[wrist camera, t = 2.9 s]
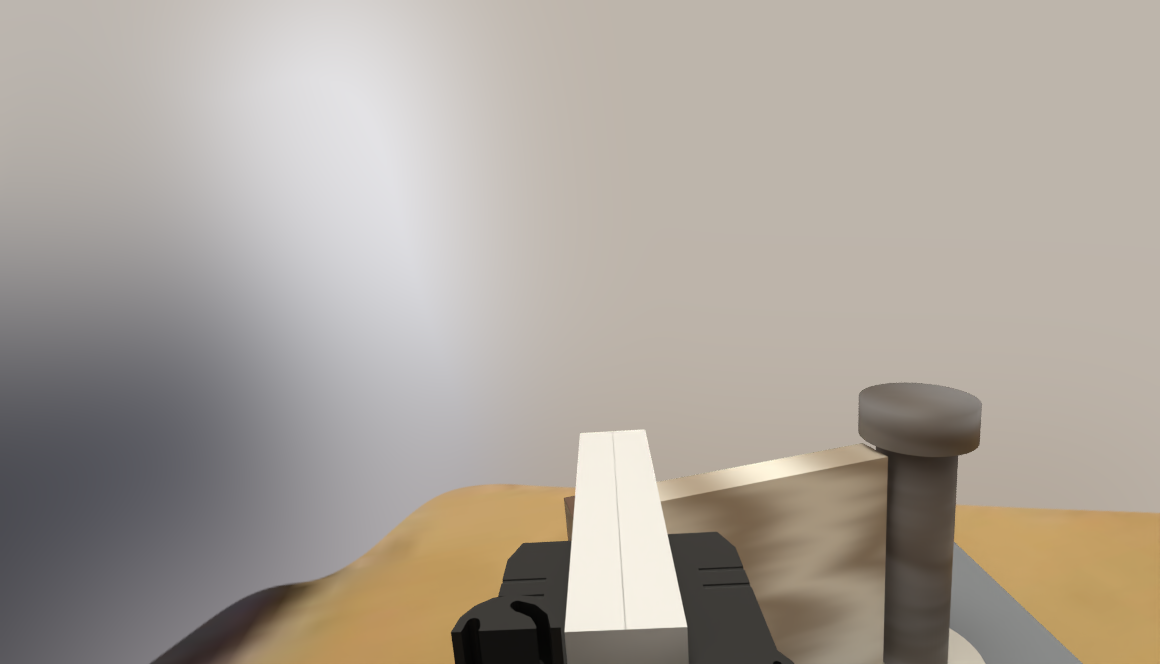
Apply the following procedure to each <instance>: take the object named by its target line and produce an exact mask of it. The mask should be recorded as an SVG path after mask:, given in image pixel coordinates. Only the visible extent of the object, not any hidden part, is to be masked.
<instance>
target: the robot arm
mask: <svg viewBox="0 0 1160 664" xmlns="http://www.w3.org/2000/svg"><path fill="white" fill-rule="evenodd" d="M451 636H452V643H453V651H454V658H455V664H794V662H793V661H792V660H790V659H789V658H787V657H786V656H785V655H783V654H782V653H781V652H779V651H778V650H777V648H776V645H775V643H774V641H773V638H772V636H771V633H770V631H769V628H768V626H767V623H766V621H765V618H764V616H763V614H762V611H761V609H760V606H759V604H758V601H757V599H756V596H755V594H754V591H753V589H752V587H750V582H749V579H748V577H747V574H746V572H745V570H744V569H743V564H742V562H741V560H740V557H739V555H738V552H737V550H736V547H735V546H733V545H732V544H731V543H730V542H729V541H728V540H726V539H725V538H724V537H723V536H722V535H721V534H719V533H718V532H700V533H679V534H667V530H666V525H665V520H664V516H663V511H662V506H661V502H660V497H659V492H658V488H657V483H656V479H655V474H654V469H653V465H652V460H651V455H650V451H649V446H648V441H647V437H646V432H645V430H629V431H610V432H592V433H580V443H579V455H578V467H577V480H576V493H575V505H574V518H573V531H572V541H558V542H538V543H523V544H522V545H521V546H520V547H519V548H518V549H517V550H516V552H515V553H514V554H513V555H512V556H511V557H510V558H509V559H508V561H507V565H506V569H505V572H504V576H503V584H501V588H500V592H499V596H498V597H496V598H492V599H490V600H487V601H485V602H483V603H480V604H478V605H476V606H474V607H473V608H472V609H470V610H469V611H468V612H467V613H465V614H464V615H463V616H462V617H460V619H459V620H458V622H457V623H456V625H455V627H454V628H453V630H452V632H451Z"/></svg>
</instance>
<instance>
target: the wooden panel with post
mask: <svg viewBox="0 0 1160 664" xmlns="http://www.w3.org/2000/svg"><path fill="white" fill-rule="evenodd" d="M981 408H982V403H981V401H980V400H979V399H978V398H977V397H975V396H973V395H971V394H969V393H967V392H964V391H961V390H957V389H954V388H949V387H944V386H939V385H932V384H922V383H888V384H881V385H875V386H871V387H868V388H866V389H864V390H862V391H861V392H860V394H859V423H858V431H859V434H860V436H861V437H862V438H863V439H864V440H865V441H867V442H869V443H870V444H872V445H875V446H876V450H874V449H873V448H871V447H869V446H867V445H865V444H863V443H861V444H855V445H851V446H845V447H840V448H834V449H829V450H824V451H818V452H813V453H808V454H803V455H798V456H792V457H787V458H782V459H776V460H771V461H766V462H761V463H755V464H750V465H745V466H739V467H734V468H730V469H724V470H718V471H714V472H708V473H703V474H697V475H692V476H687V477H681V478H676V479H671V480H666V481H660V482H656V483H657V488H658V492H659V497H660V502H661V506H662V511H663V516H664V520H665V525H666V530H667V534H679V533H700V532H718V533H719V534H721V535H722V536H723V537H724V538H725V539H726V540H728V541H729V542H730V543H731V544H732V545H733V546H735V547H736V550H737V552H738V555H739V557H740V560H741V562H742V564H743V569H744V570H745V572H746V574H747V577H748V579H749V582H750V587H752V589H753V591H754V594H755V596H756V599H757V601H758V604H759V606H760V609H761V611H762V614H763V616H764V618H765V621H766V623H767V626H768V628H769V631H770V633H771V636H772V638H773V641H774V643H775V645H776V648H777V650H778V651H779V652H781V653H782V654H783V655H785V656H786V657H787V658H789V659H790V660H792V661H793V662H794V664H883V662H884V663H885V664H948V647H949V627H950V607H951V587H952V567H953V547H954V527H955V507H956V487H957V486H956V485H957V467H958V455H962V454H967V453H969V452H972V451H974V450H975V449H976V448H978V446H979V442H980V426H981V410H982V409H981ZM564 502H565V512H566V523H567V533H568V541H572V531H573V518H574V505H575V496H571V497H566V498H564Z"/></svg>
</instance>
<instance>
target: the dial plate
mask: <svg viewBox="0 0 1160 664" xmlns="http://www.w3.org/2000/svg"><path fill="white" fill-rule="evenodd" d="M883 664H885V663H884V662H883ZM948 664H1082V663H1081V662H1080V661H1079V660H1078V659H1077V658H1076V657H1075V656H1074V655H1073V654H1072V653H1071V652H1070V651H1069V650H1068V649H1067V648H1066V647H1064V646H1063V645H1062V644H1061V643H1060V642H1059V641H1058V640H1057V639H1056V638H1055V637H1054V636H1053V635H1052V634H1051V633H1050V632H1049V631H1048V630H1047V629H1045V628H1044V627H1043V626H1042V625H1041V624H1040V623H1039V622H1038V621H1037V620H1036V619H1035V618H1034V617H1033V616H1032V615H1031V614H1030V613H1029V612H1028V611H1026V610H1025V609H1024V608H1023V607H1022V606H1021V605H1020V604H1019V603H1018V602H1017V601H1016V600H1015V599H1014V598H1013V597H1012V596H1011V595H1010V594H1009V593H1007V592H1006V591H1005V590H1004V589H1003V588H1002V587H1001V586H1000V585H999V584H998V583H997V582H996V581H995V580H994V579H993V578H992V577H991V576H990V575H989V574H987V573H986V572H985V571H984V570H983V569H982V568H981V567H980V566H979V565H978V564H977V563H976V562H975V561H974V560H973V559H972V558H971V557H970V556H968V555H967V554H966V553H965V552H964V551H963V550H962V549H961V548H960V547H959V546H958V545H957V544H956V543H955V542H954V547H953V567H952V587H951V607H950V627H949V647H948Z"/></svg>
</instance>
